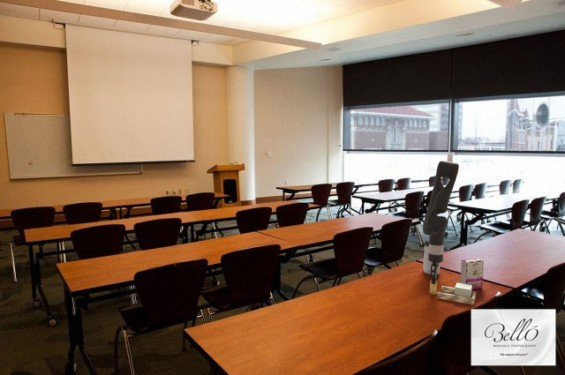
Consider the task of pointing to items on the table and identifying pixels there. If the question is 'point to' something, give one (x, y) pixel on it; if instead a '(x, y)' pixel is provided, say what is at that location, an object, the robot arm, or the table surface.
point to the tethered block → (460, 289)
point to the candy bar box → (472, 272)
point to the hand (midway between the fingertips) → (434, 281)
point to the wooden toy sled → (455, 296)
